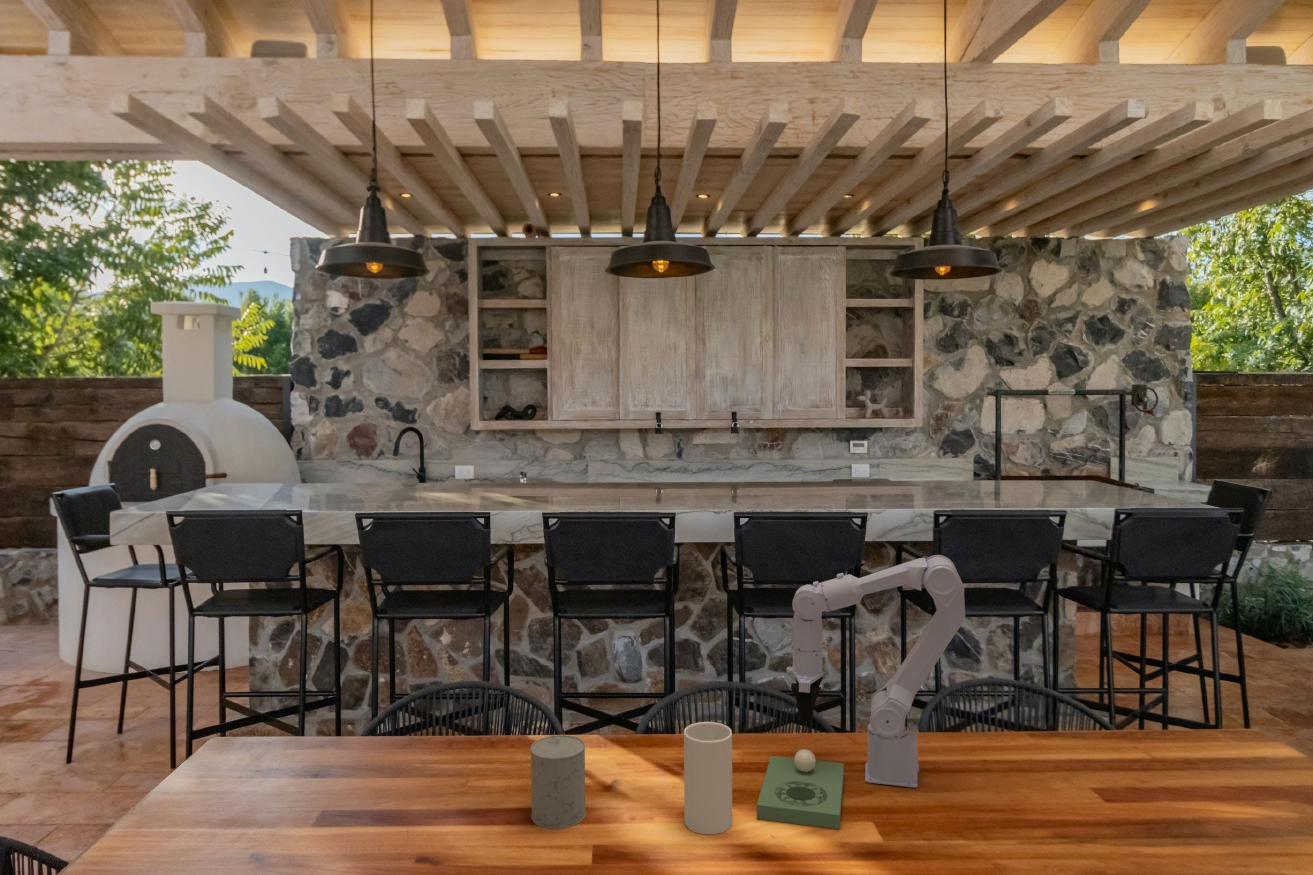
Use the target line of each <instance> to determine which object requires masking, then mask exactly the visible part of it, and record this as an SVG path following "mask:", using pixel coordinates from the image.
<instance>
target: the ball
mask: <svg viewBox="0 0 1313 875" xmlns="http://www.w3.org/2000/svg"><path fill="white" fill-rule="evenodd" d="M793 758H794V762H795V765H796V767H797V768H798V769H799V770H800V771H802V772H809V771H811V770H812V769H813V768H814V767H815V764H816V761H817V760H816V756H815V754H814V753H813V752H812V751H811V750H809V749H805V748H804V749H800V750H798V751H796V753H795V754H794V757H793Z"/></svg>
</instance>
